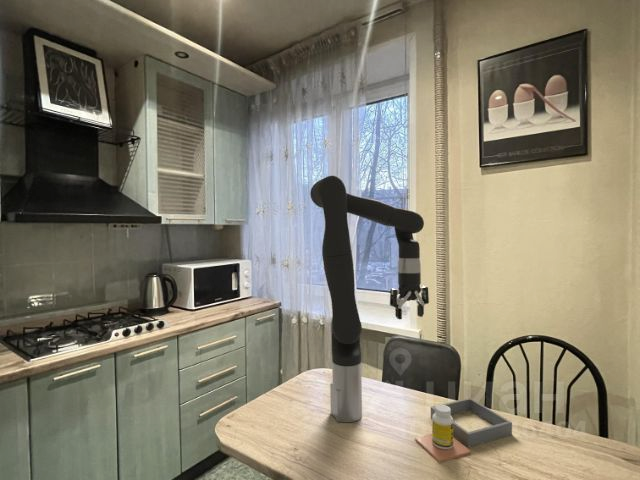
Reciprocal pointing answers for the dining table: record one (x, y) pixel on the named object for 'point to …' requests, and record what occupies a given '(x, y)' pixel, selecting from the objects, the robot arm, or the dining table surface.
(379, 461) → the dining table surface
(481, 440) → the bin
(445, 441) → the supplement bottle
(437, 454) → the tile
